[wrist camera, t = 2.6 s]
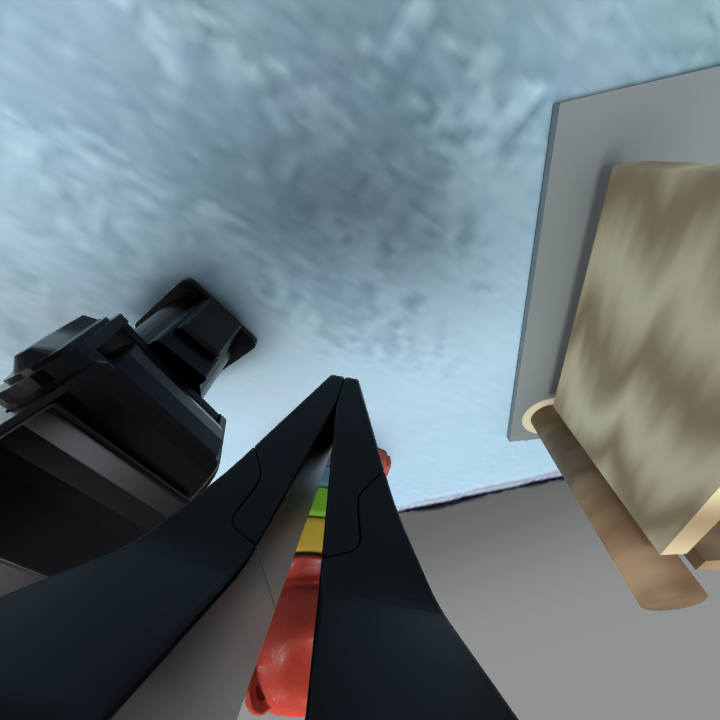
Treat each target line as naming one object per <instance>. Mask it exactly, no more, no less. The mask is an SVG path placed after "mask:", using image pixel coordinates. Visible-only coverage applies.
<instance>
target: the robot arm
mask: <svg viewBox="0 0 720 720" xmlns="http://www.w3.org/2000/svg"><path fill="white" fill-rule="evenodd" d="M187 284H189V285H190V286H191V288H189V287H188V286H187ZM128 322H129V321H128V320H127V319H126V318H125V317H124V316H123V315H122V314H121V313H120V314H118V315H116V316H114V317H112V318H110V319H108V318H107V317H105V318H103V319H99V320H97V319H94V318H90V317H87V316H84V315H83V316H81V317H79V318H77V319H75V320H73V321H72V322H70V323H68V324H67V325H65V326H63V327H61V328H60V329H58V330H56V331H54V332H53V333H51V334H49V335H48V336H46V337H44V338H43V339H41V340H39V341H38V342H36V343H35V344H33V345H31V346H30V347H28V348H27V349H25V350H23V351H22V352H20V353H19V354H17V355H16V356H14V366H13V373H12V374H10V375H9V376H8V377H7V378H6V379H4V382H5V383H3V384H2V385H1V386H0V406H1V407H0V720H237V717H238V714H239V711H240V709H241V706H242V703H243V700H244V697H245V694H246V692H247V689H248V686H249V683H250V680H251V677H252V675H253V672H254V669H255V666H256V663H257V660H258V658H259V655H260V652H261V649H262V646H263V643H264V640H265V638H266V635H267V632H268V629H269V626H270V623H271V621H272V618H273V615H274V612H275V607H276V606H277V603H278V600H279V598H280V595H281V592H282V589H283V586H284V583H285V580H286V578H287V575H288V572H289V569H290V566H291V563H292V560H293V558H294V555H295V552H296V549H297V546H298V543H299V541H300V538H301V535H302V532H303V529H304V526H305V523H306V521H307V518H308V515H309V512H310V509H311V506H312V504H313V501H314V498H315V495H316V492H317V489H318V486H319V484H320V481H321V478H322V475H323V472H324V469H325V466H326V464H327V461H328V458H329V455H330V452H331V462H330V473H329V483H328V494H327V505H326V515H325V526H324V537H323V547H322V559H321V569H320V579H319V589H318V599H317V609H316V618H315V628H314V637H313V647H312V656H311V666H310V675H309V685H308V694H307V704H306V714H305V720H519V719H518V718H517V717H516V715H515V714H514V712H513V711H512V710H511V708H510V707H509V705H508V704H507V703H506V701H505V700H504V698H503V697H502V696H501V694H500V693H499V691H498V690H497V688H496V687H495V686H494V684H493V683H492V682H491V680H490V679H489V677H488V676H487V674H486V673H485V672H484V670H483V669H482V667H481V666H480V664H479V663H478V662H477V660H476V659H475V658H474V656H473V655H472V653H471V652H470V650H469V649H468V647H467V646H466V645H465V644H464V642H463V641H462V639H461V638H460V636H459V635H458V633H457V632H456V631H455V629H454V628H453V626H452V625H451V624H450V622H449V621H448V619H447V618H446V616H445V615H444V613H443V611H442V610H441V608H440V606H439V604H438V602H437V601H436V599H435V597H434V595H433V593H432V591H431V589H430V586H429V584H428V582H427V580H426V578H425V575H424V573H423V571H422V569H421V566H420V564H419V561H418V559H417V557H416V554H415V552H414V550H413V548H412V545H411V543H410V540H409V538H408V536H407V533H406V531H405V529H404V526H403V524H402V522H401V519H400V516H399V514H398V511H397V508H396V506H395V503H394V500H393V497H392V494H391V491H390V488H389V485H388V481H387V478H386V474H385V472H384V468H383V464H382V461H381V457H380V454H379V450H378V447H377V443H376V440H375V436H374V433H373V429H372V426H371V422H370V419H369V415H368V412H367V408H366V405H365V401H364V398H363V394H362V391H361V387H360V384H359V381H358V380H357V379H353V378H345V379H344V377H341V376H336V375H331V376H330V377H329V378H327V379H326V380H325V381H324V382H323V383H322V384H321V385H320V386H319V387H318V388H317V389H316V390H315V391H314V392H312V393H311V394H310V395H309V396H308V397H307V398H306V399H305V400H304V401H303V402H302V403H301V404H300V405H299V406H298V407H296V408H295V409H294V410H293V411H292V412H291V413H290V414H289V415H288V416H287V417H286V418H285V419H284V420H283V421H281V422H280V423H279V424H278V425H277V426H276V427H275V428H274V429H273V430H272V431H271V432H270V433H269V434H268V435H266V436H265V437H264V438H263V439H262V440H261V441H260V442H259V443H258V444H257V445H256V446H255V448H252V449H251V450H250V451H249V452H248V453H247V454H246V455H245V456H244V457H243V458H242V459H241V460H239V461H238V462H237V463H236V464H235V465H234V466H233V467H231V468H230V469H229V470H228V471H227V472H226V473H224V474H223V475H222V476H221V477H219V478H218V479H217V480H216V481H214V482H213V483H212V484H211V485H209V484H210V483H211V481H212V480H213V478H214V477H215V475H216V472H217V470H218V468H219V464H220V459H221V452H222V445H223V439H224V432H225V425H226V419H225V418H224V417H223V416H222V415H221V414H218V413H217V412H216V411H215V410H214V409H213V408H212V407H211V406H210V405H209V404H208V403H207V402H206V401H205V400H204V399H203V398H204V396H205V395H206V393H207V392H208V390H209V389H210V387H211V386H212V384H213V383H214V381H215V380H216V378H217V377H218V375H219V374H220V372H221V371H222V370H223V369H225V368H226V367H228V366H229V365H230V364H232V363H233V362H235V361H236V360H238V359H239V358H240V357H242V356H243V355H245V354H246V353H248V352H249V351H251V350H252V349H253V348H254V347H255V346H256V344H257V340H256V339H255V337H254V336H252V335H251V334H250V333H249V332H248V331H247V330H246V329H245V328H244V327H243V326H242V325H241V324H240V322H238V321H237V320H236V319H235V318H234V317H233V316H232V315H231V314H230V313H229V312H228V311H227V310H226V309H225V308H224V307H223V306H222V305H221V304H220V303H218V302H217V301H216V300H215V299H213V298H212V297H211V296H210V295H209V294H208V293H207V292H206V291H205V290H204V289H203V288H202V287H201V286H200V285H199V284H198V283H197V282H196V281H194V280H193V279H191V278H186V279H184V280H182V281H181V282H180V283H179V284H178V285H177V286H176V287H175V288H174V289H172V290H171V291H170V292H169V293H168V294H167V295H166V296H165V297H164V298H163V299H162V300H161V301H160V302H158V303H157V304H156V305H155V306H154V307H153V308H152V309H151V310H150V311H149V312H148V313H147V314H146V315H144V316H143V317H142V318H141V319H140V320H139V321H138V322H137V323H136V324H135V327H136V328H135V329H133V328H132V327H131V326H130V325H129V324H128ZM247 341H250V342H251V343H252V344H250V343H248V342H247ZM331 449H332V451H331ZM208 485H209V486H208Z"/></svg>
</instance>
